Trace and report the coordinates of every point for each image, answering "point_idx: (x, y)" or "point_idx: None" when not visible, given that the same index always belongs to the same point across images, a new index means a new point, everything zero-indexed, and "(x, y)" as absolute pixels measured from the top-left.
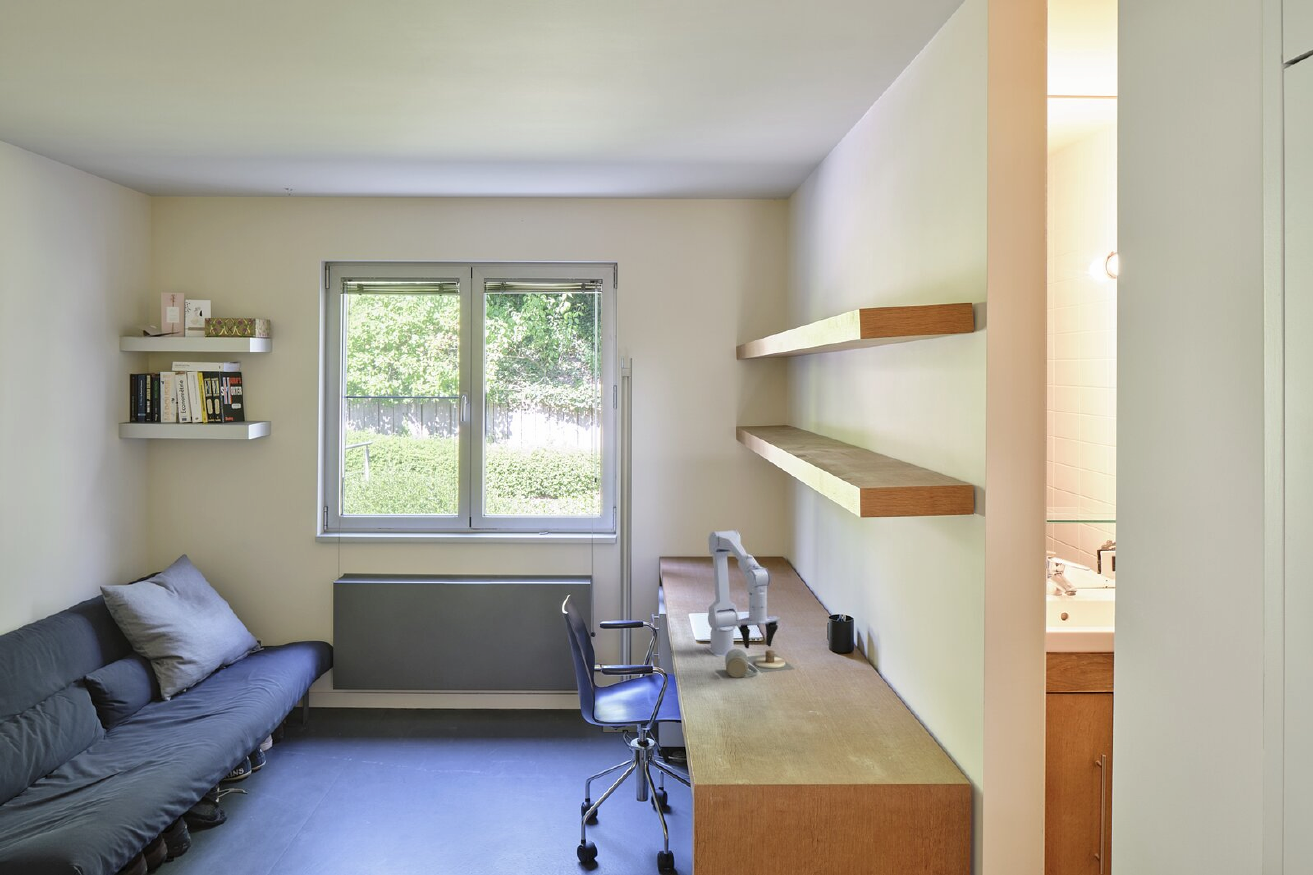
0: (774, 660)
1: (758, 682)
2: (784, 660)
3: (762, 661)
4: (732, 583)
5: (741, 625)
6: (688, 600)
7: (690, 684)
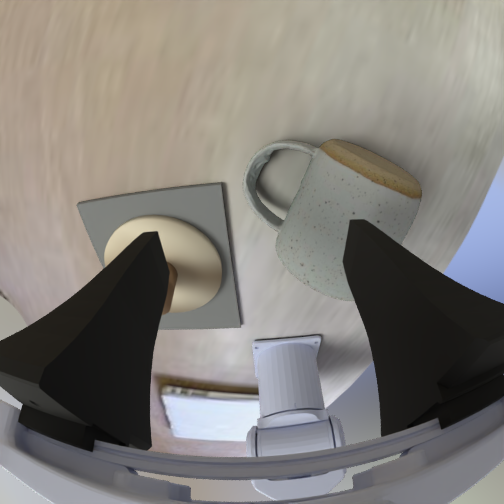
0: None
1: (275, 77)
2: None
3: (189, 277)
4: None
5: (496, 400)
6: None
7: (495, 160)
